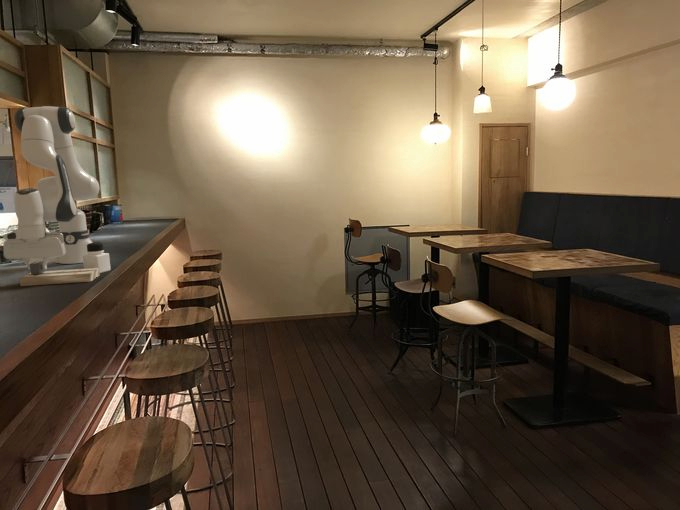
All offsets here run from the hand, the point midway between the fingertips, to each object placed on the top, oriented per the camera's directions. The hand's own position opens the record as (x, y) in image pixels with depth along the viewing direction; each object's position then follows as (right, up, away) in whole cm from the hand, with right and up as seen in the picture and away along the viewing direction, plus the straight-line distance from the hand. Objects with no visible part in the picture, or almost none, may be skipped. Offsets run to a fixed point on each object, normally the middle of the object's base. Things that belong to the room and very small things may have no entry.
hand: (37, 269), depth 191 cm
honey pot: (-25, +2, +48) cm, 54 cm away
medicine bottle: (+14, -2, +17) cm, 23 cm away
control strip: (+8, -4, +2) cm, 9 cm away
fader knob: (0, -1, 0) cm, 1 cm away
